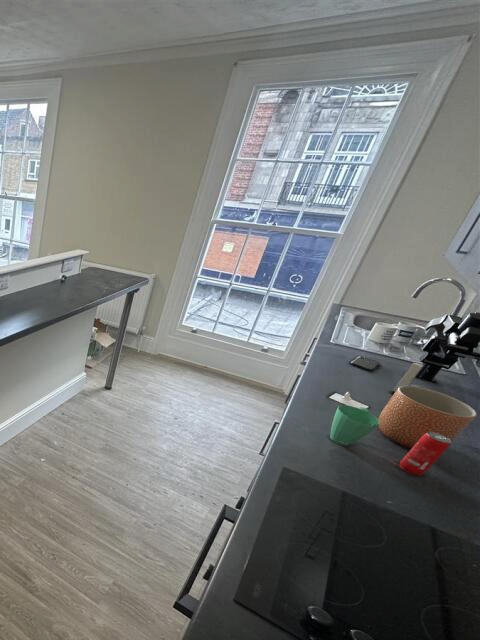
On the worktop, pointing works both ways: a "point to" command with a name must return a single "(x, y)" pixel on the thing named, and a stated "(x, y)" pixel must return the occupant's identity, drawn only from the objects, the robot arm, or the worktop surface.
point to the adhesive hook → (347, 400)
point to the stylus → (408, 376)
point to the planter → (423, 415)
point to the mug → (352, 424)
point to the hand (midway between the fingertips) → (462, 362)
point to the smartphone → (365, 363)
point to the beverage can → (424, 453)
